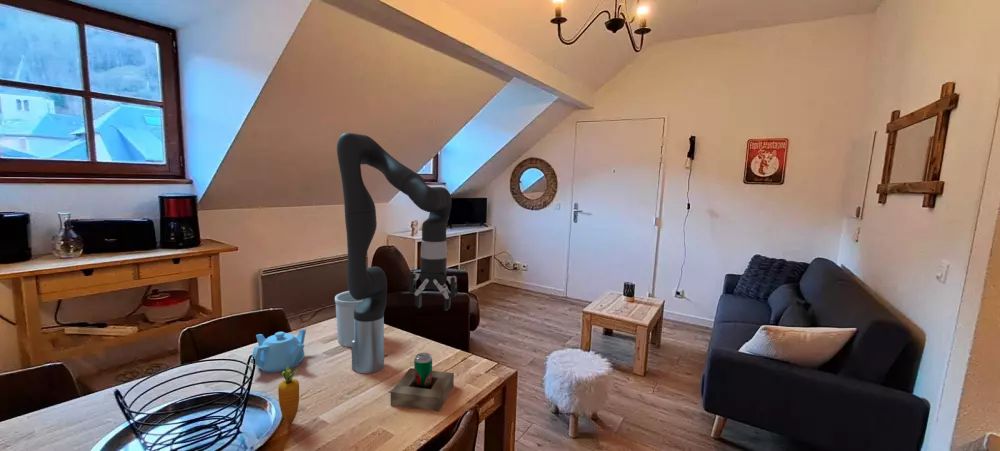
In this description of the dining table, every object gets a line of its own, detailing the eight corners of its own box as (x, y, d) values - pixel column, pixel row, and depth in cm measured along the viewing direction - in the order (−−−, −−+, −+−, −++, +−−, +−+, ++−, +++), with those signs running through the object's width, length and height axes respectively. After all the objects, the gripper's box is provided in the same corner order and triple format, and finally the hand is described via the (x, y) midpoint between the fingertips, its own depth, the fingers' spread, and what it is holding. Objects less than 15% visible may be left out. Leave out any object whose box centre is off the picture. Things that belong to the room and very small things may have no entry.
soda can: (427, 401, 114) (428, 360, 112) (411, 398, 115) (411, 358, 114) (434, 391, 119) (434, 353, 117) (418, 389, 120) (418, 351, 118)
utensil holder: (345, 351, 143) (344, 304, 141) (329, 338, 154) (328, 294, 152) (383, 341, 153) (383, 296, 151) (366, 329, 164) (366, 287, 162)
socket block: (390, 405, 111) (390, 391, 111) (409, 380, 125) (409, 368, 124) (439, 411, 109) (439, 398, 109) (453, 385, 123) (453, 373, 122)
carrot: (284, 418, 104) (282, 363, 102) (304, 418, 105) (302, 363, 103) (275, 430, 99) (272, 373, 97) (296, 430, 100) (294, 372, 98)
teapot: (257, 357, 137) (256, 327, 136) (306, 350, 143) (305, 321, 142) (250, 378, 123) (248, 345, 122) (304, 370, 129) (303, 338, 128)
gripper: (405, 256, 116) (405, 310, 118) (453, 259, 113) (451, 315, 115) (415, 251, 123) (415, 302, 125) (460, 254, 120) (459, 306, 123)
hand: (432, 308), depth 120 cm, fingers open, 8 cm apart
